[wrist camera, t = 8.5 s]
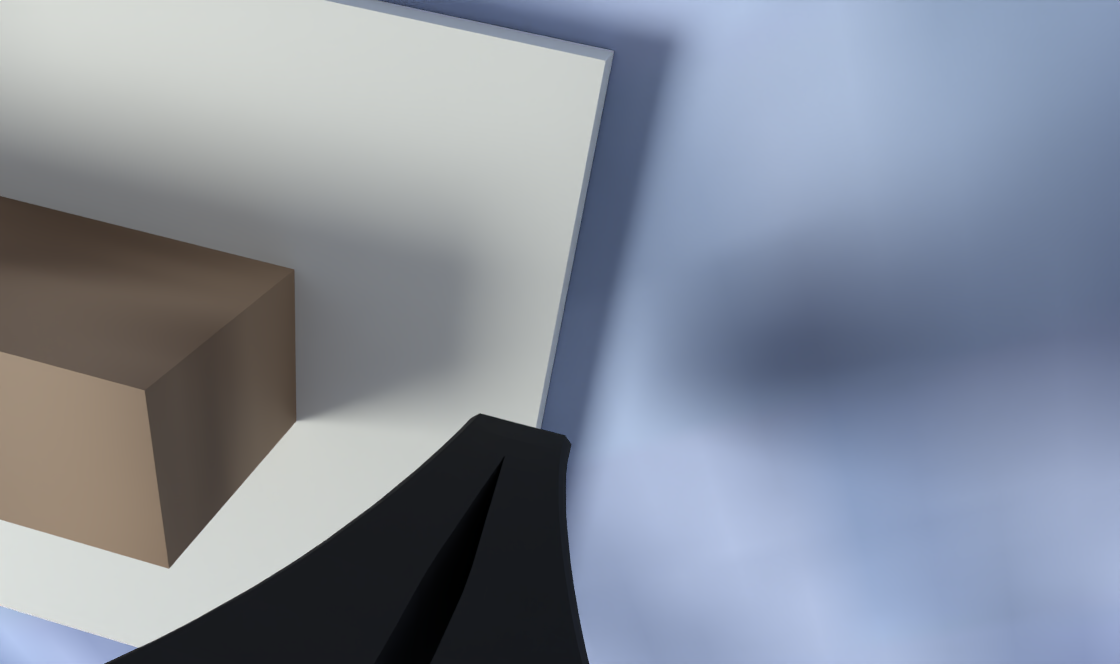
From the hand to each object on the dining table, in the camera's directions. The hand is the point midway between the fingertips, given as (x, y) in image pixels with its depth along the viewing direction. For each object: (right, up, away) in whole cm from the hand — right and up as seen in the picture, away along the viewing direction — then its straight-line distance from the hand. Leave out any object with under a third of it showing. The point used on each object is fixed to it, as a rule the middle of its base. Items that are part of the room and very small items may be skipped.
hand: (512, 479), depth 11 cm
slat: (-9, +3, +2) cm, 9 cm away
